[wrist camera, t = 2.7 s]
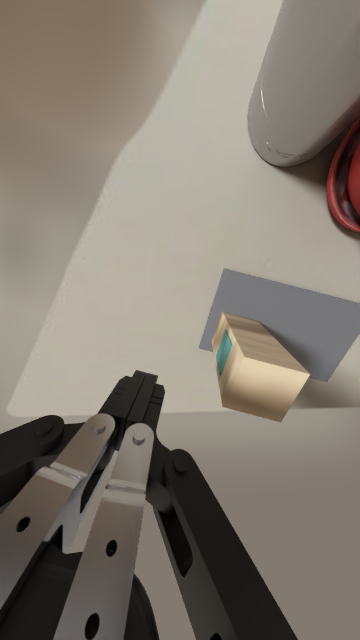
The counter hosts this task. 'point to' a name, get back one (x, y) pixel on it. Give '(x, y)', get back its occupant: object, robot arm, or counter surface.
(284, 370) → the maple block
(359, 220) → the plant pot
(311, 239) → the counter surface
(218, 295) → the rubber mat
